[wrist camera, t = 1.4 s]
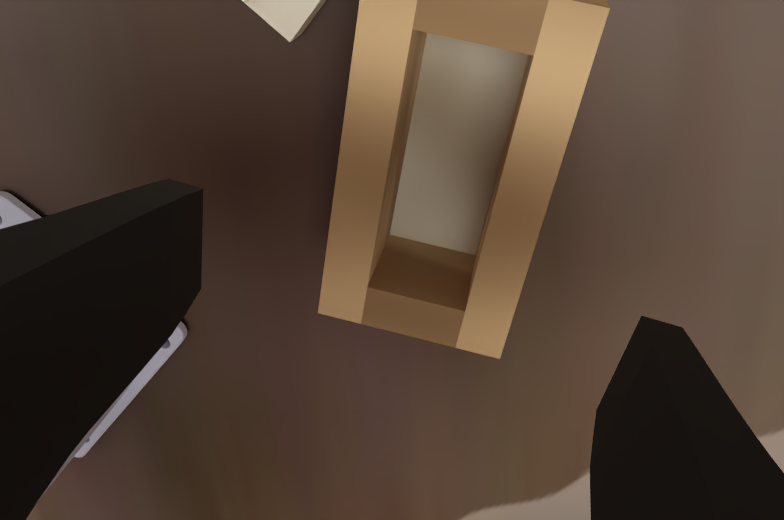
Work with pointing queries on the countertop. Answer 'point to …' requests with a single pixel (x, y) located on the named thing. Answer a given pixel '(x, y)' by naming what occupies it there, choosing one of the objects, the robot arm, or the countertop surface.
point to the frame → (451, 160)
